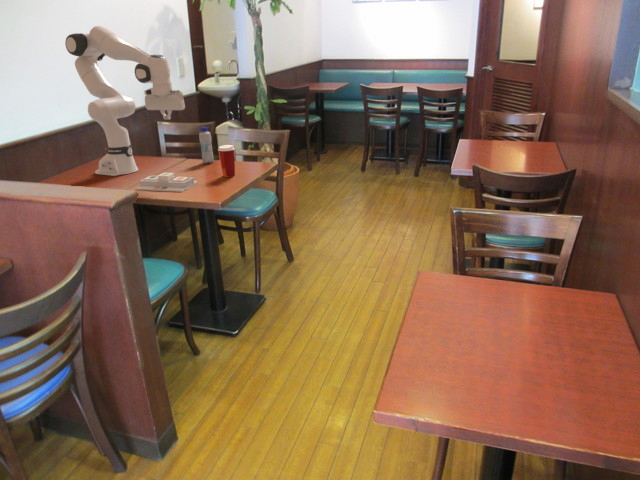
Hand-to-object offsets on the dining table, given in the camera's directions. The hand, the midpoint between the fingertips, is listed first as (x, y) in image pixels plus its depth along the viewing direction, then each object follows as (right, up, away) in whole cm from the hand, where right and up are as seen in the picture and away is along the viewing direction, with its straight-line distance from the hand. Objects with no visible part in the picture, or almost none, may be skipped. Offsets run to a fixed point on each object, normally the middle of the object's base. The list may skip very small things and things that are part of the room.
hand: (167, 119), depth 252 cm
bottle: (+13, -16, +35) cm, 41 cm away
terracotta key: (+9, -33, -9) cm, 36 cm away
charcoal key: (-5, -32, -5) cm, 33 cm away
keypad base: (+2, -34, -6) cm, 34 cm away
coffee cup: (+29, -27, +8) cm, 41 cm away
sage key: (+2, -31, -7) cm, 32 cm away
